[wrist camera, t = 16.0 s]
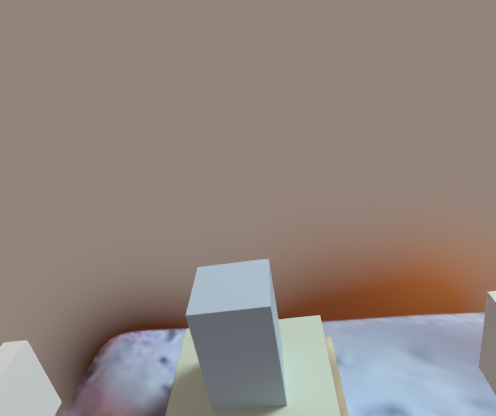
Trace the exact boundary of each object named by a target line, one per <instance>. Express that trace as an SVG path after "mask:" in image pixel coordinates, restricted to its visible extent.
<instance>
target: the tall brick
mask: <svg viewBox="0 0 496 416" xmlns="http://www.w3.org/2000/svg"><path fill="white" fill-rule="evenodd" d="M186 318H187V322H188V325H189V329H190V332H191V336H192V339H193V343H194V346H195V350H196V353H197V357H198V360H199V364H200V368H201V371H202V375H203V378H204V382H205V385H206V389H207V392H208V396H209V399H210V403H211V406H212V410H213V412H219V411H231V410H242V409H254V408H266V407H277V406H287V397H286V384H285V371H284V358H283V347H282V340H281V334H280V328H279V321H278V315H277V309H276V302H275V296H274V290H273V284H272V277H271V271H270V265H269V259H264V260H254V261H246V262H237V263H229V264H221V265H212V266H204V267H198V268H197V273H196V276H195V280H194V284H193V288H192V293H191V296H190V301H189V304H188V308H187V313H186Z"/></svg>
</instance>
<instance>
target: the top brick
mask: <svg viewBox="0 0 496 416" xmlns="http://www.w3.org/2000/svg"><path fill="white" fill-rule="evenodd" d="M278 321H279V328H280V334H281V340H282V347H283V358H284V371H285V384H286V397H287V406H277V407H266V408H254V409H242V410H231V411H219V412H213V410H212V406H211V403H210V399H209V396H208V392H207V389H206V385H205V382H204V378H203V375H202V371H201V368H200V364H199V360H198V357H197V353H196V350H195V346H194V343H193V339H192V336H191V332H190V329H186V332H185V336H184V340H183V344H182V349H181V353H180V357H179V361H178V365H177V369H176V373H175V377H174V381H173V385H172V390H171V394H170V398H169V402H168V406H167V410H166V414H165V416H341V415H340V410H339V405H338V400H337V395H336V391H335V386H334V381H333V376H332V371H331V366H330V361H329V356H328V352H327V347H326V342H325V337H324V332H323V327H322V322H321V318H320V315H318V316H308V317H298V318H289V319H278Z"/></svg>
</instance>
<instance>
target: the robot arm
mask: <svg viewBox="0 0 496 416" xmlns="http://www.w3.org/2000/svg"><path fill="white" fill-rule="evenodd" d="M487 294H488V295H487V302H486V310H485V319H484V327H483V336H482V344H481V353H480V361H479V368H480V370H481V371H482V373H483V375H484V376H485V378H486V380H487V381H488V383H489V384H490V386H491V388H492V389H493V391H494V393H495V394H496V291H494V292H488V293H487ZM60 404H61V400H60V398H59V397H58V395H57V393H56V391H55V390H54V388H53V386H52V384H51V382H50V380H49V379H48V377H47V375H46V373H45V371H44V370H43V368H42V367H41V364H40V363H39V361H38V359H37V357H36V355H35V354H34V352H33V350H32V348H31V347H30V345H29V343H28V341H27V340H26V341H16V342H6V343H3V344H2V346H1V347H0V416H55V414H56V412H57V410H58V408H59V406H60Z"/></svg>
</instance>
